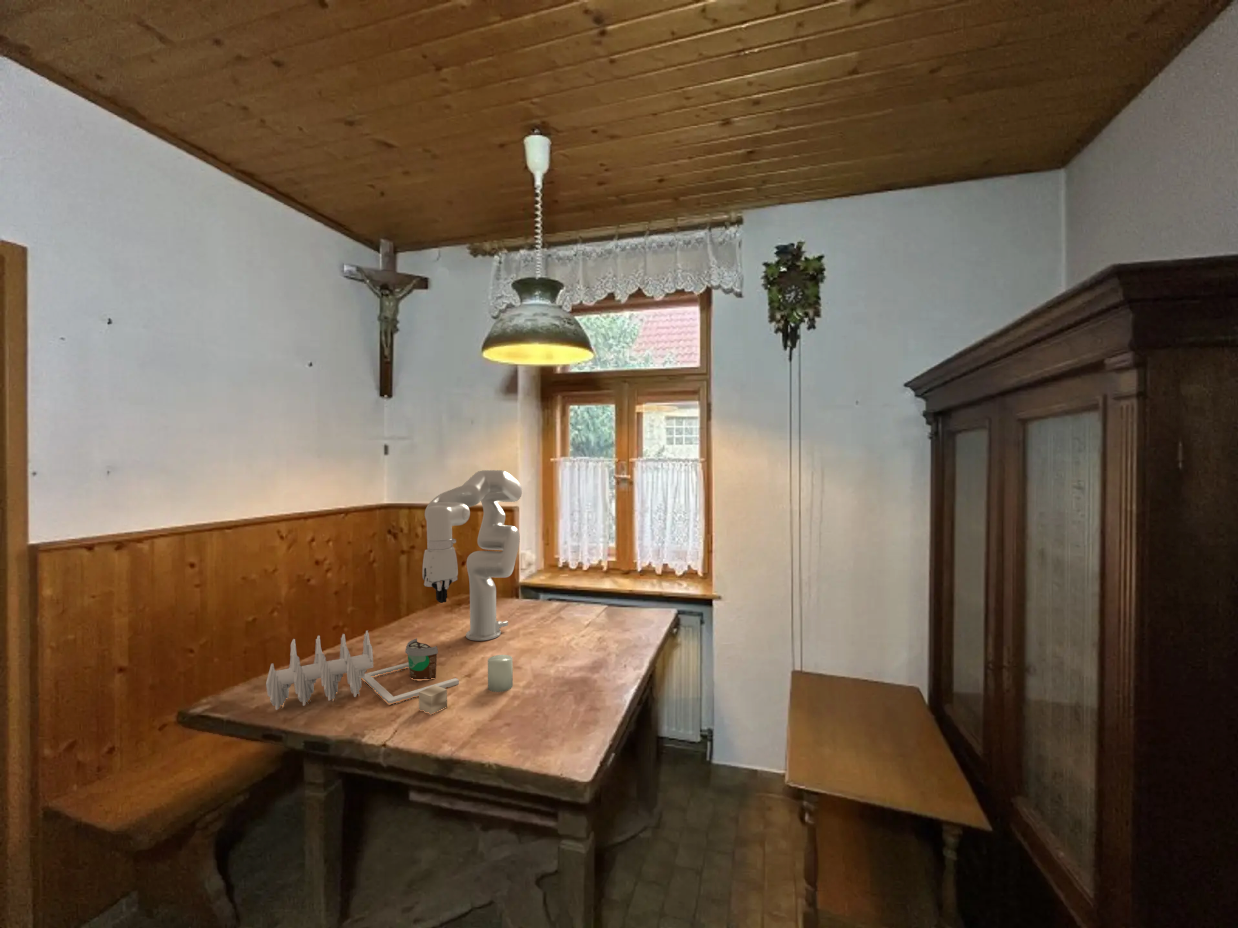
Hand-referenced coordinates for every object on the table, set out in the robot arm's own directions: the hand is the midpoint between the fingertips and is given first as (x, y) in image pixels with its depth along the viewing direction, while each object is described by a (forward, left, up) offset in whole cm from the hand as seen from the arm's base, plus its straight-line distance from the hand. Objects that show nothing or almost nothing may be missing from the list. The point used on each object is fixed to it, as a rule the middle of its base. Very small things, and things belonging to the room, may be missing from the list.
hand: (441, 601), depth 169 cm
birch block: (+14, +26, -21) cm, 36 cm away
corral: (+11, +4, -21) cm, 24 cm away
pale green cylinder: (-6, +26, -21) cm, 34 cm away
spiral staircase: (+34, 0, -21) cm, 40 cm away
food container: (+9, +3, -21) cm, 23 cm away
